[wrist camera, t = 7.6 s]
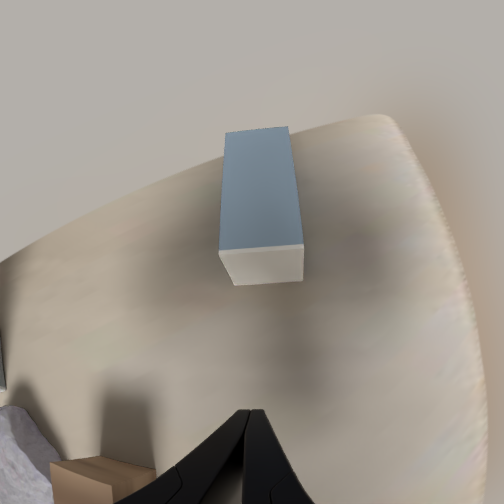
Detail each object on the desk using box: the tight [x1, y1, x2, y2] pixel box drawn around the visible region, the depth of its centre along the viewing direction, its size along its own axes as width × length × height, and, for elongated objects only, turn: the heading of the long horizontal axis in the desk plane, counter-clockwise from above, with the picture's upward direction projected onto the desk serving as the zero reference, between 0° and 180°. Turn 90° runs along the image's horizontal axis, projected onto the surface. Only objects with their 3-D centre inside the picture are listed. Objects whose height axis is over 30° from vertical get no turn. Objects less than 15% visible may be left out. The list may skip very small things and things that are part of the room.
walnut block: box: [50, 456, 156, 504], centre depth 13 cm, size 5×5×6 cm
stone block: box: [0, 405, 62, 504], centre depth 14 cm, size 12×5×10 cm
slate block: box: [219, 127, 304, 286], centre depth 22 cm, size 5×5×11 cm
